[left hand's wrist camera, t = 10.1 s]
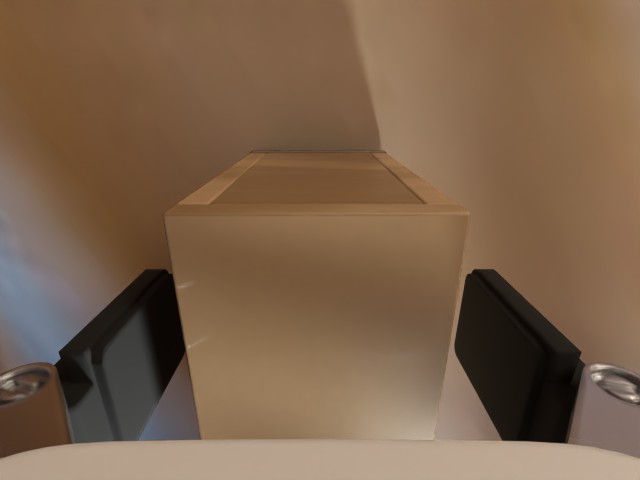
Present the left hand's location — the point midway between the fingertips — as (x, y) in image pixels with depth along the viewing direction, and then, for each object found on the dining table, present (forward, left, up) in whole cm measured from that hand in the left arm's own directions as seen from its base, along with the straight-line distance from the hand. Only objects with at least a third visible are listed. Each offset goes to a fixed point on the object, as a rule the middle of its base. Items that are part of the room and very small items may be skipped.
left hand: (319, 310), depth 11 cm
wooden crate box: (+5, -3, -8) cm, 10 cm away
